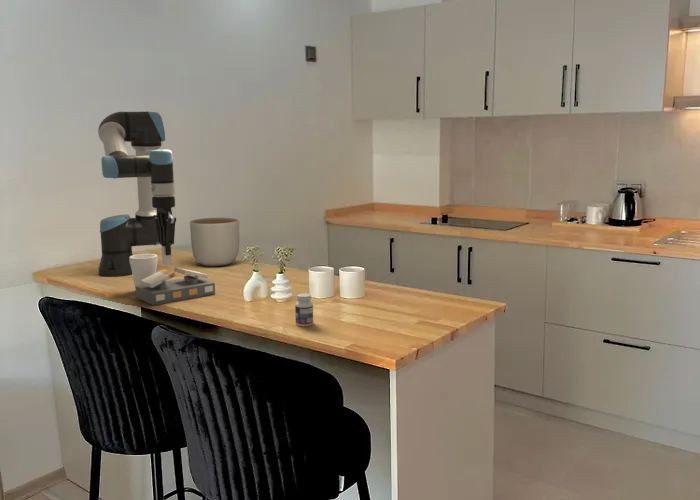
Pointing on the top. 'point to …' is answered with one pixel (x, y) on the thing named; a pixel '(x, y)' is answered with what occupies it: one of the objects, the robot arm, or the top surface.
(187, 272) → the panel
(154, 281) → the block
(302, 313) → the pill bottle
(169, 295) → the switch unit
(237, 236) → the planter
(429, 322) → the top surface
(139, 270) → the foam cup
